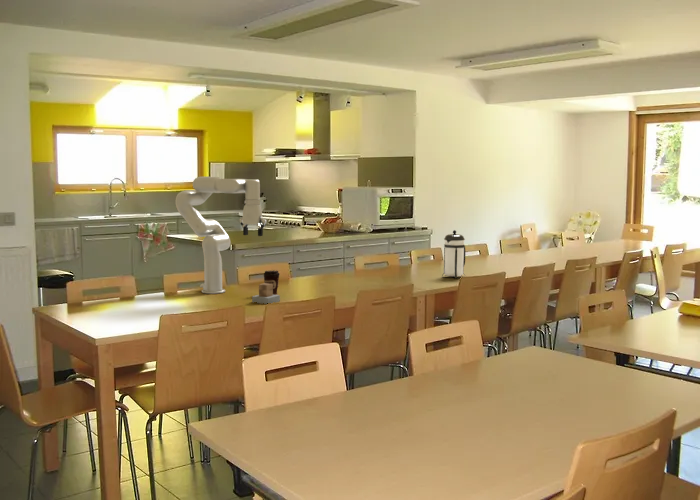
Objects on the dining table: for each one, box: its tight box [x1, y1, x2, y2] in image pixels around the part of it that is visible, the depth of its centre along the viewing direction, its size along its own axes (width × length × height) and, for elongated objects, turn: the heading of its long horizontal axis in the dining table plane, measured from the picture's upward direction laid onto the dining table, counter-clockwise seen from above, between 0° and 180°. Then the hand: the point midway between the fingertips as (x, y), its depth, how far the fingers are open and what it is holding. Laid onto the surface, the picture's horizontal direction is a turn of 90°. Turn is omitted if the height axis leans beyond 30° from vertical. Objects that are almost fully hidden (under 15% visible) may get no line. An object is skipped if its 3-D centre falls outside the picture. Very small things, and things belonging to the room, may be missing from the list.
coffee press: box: [441, 229, 466, 279], centre depth 455 cm, size 17×16×30 cm
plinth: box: [251, 294, 281, 305], centre depth 364 cm, size 10×10×3 cm
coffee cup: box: [263, 269, 280, 295], centre depth 384 cm, size 9×8×13 cm
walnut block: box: [258, 282, 273, 297], centre depth 364 cm, size 5×5×6 cm
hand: (252, 235), depth 377 cm, fingers open, 9 cm apart
